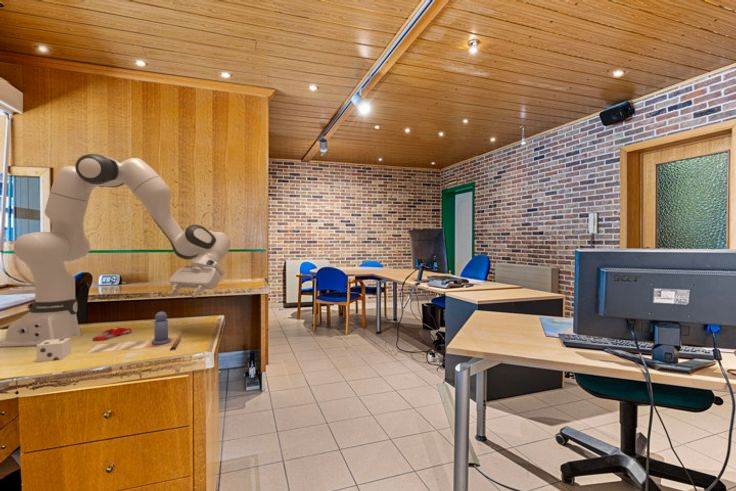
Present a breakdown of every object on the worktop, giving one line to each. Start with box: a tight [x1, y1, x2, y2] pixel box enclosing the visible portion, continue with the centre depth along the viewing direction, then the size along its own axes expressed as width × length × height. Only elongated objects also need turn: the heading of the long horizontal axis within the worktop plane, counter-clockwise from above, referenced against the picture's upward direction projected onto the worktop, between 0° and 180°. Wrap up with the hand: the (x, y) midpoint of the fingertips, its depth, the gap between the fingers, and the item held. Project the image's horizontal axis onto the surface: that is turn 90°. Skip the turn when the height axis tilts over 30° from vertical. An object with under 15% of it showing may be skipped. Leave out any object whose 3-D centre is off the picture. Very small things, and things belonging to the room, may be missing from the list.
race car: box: [91, 327, 133, 342], centre depth 129 cm, size 13×5×4 cm, turn 163°
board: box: [86, 336, 181, 354], centre depth 118 cm, size 26×12×1 cm, turn 110°
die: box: [35, 337, 72, 363], centre depth 106 cm, size 6×6×6 cm
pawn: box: [151, 311, 172, 345], centre depth 121 cm, size 6×6×11 cm
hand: (182, 295), depth 129 cm, fingers open, 8 cm apart
